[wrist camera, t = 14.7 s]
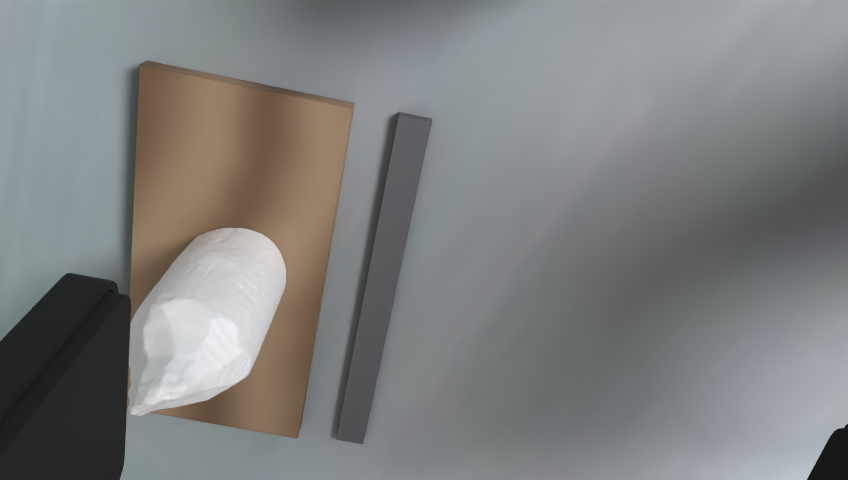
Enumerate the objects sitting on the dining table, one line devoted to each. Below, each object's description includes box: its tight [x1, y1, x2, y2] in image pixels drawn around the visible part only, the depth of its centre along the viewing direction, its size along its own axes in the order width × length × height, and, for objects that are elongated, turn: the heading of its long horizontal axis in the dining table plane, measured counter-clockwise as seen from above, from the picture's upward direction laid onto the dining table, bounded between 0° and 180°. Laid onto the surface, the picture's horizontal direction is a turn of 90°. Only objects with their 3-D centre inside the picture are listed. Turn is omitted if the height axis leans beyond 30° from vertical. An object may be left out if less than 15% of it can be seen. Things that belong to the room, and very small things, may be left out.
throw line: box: [336, 112, 432, 444], centre depth 41 cm, size 2×20×1 cm, turn 168°
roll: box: [128, 228, 286, 416], centre depth 35 cm, size 6×12×6 cm
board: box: [127, 61, 355, 438], centre depth 41 cm, size 10×20×1 cm, turn 169°
